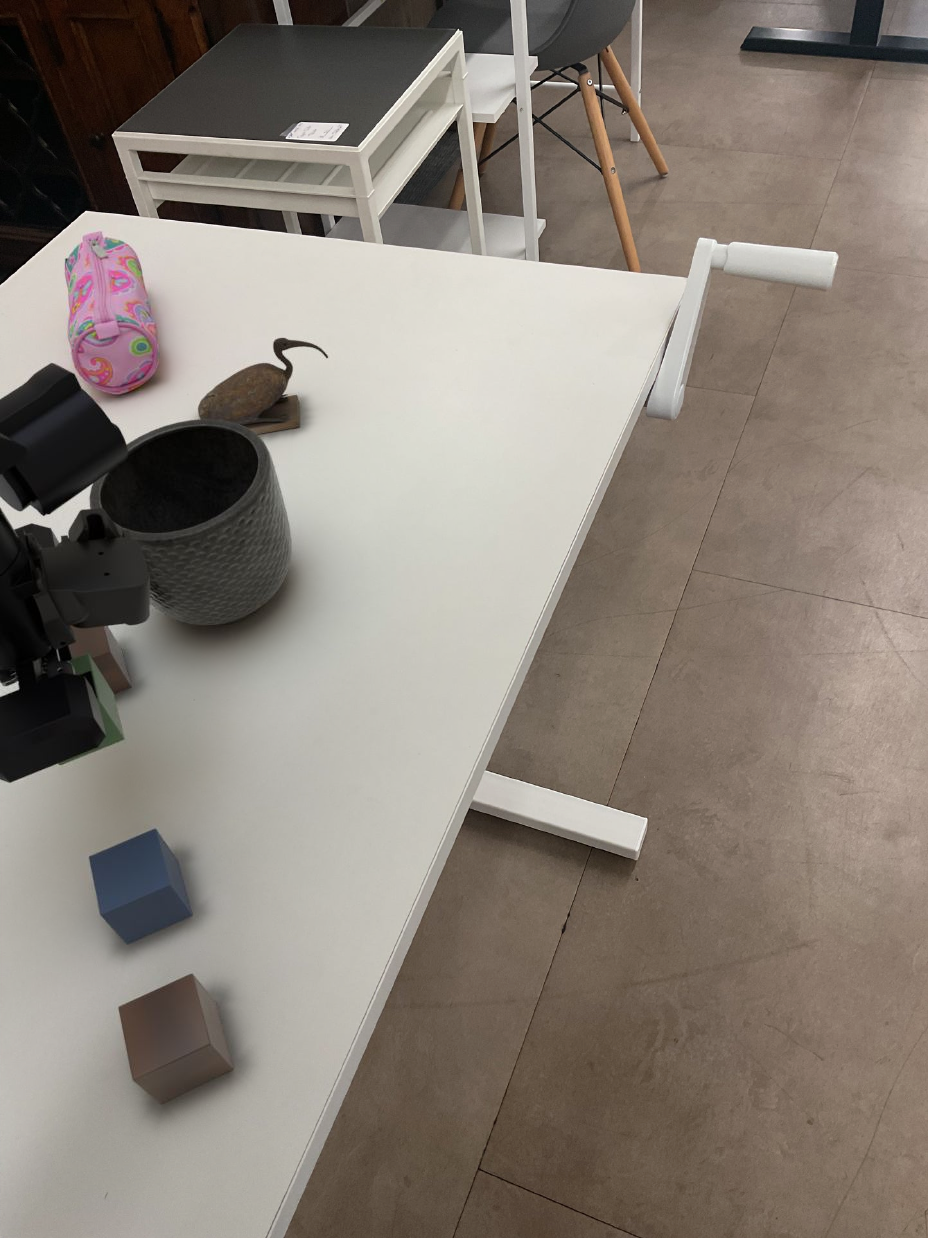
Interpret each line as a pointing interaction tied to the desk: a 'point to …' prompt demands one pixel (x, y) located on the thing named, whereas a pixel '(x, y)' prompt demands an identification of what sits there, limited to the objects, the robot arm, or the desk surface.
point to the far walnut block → (102, 654)
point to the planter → (202, 518)
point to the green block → (100, 703)
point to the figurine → (257, 395)
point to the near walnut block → (174, 1039)
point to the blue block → (139, 886)
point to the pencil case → (109, 315)
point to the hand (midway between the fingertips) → (80, 720)
